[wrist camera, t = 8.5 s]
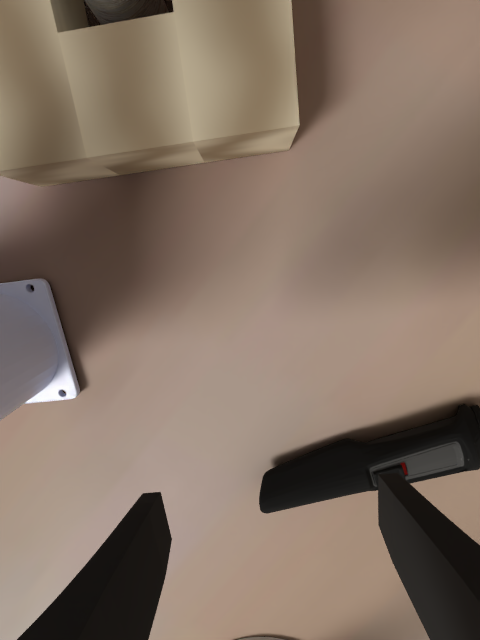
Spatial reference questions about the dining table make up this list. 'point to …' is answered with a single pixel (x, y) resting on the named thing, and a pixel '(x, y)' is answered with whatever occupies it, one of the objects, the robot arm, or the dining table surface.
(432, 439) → the electric trimmer
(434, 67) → the dining table surface
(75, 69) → the socket block
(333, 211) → the dining table surface
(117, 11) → the peg
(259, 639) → the candlestick
